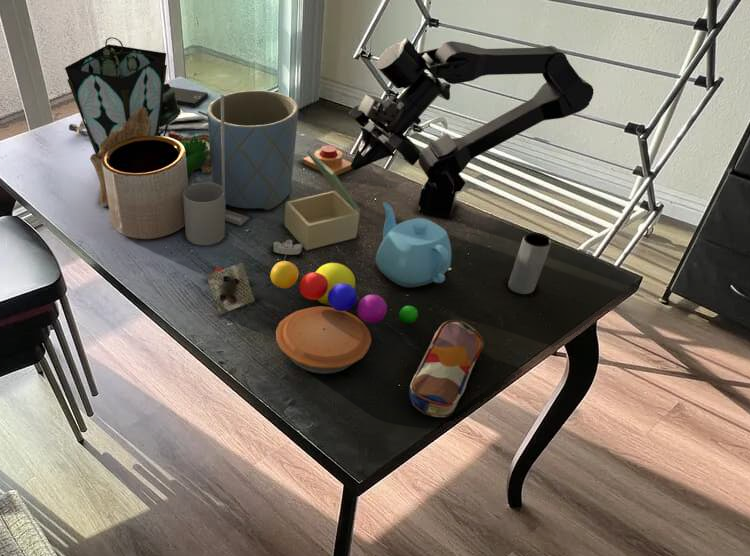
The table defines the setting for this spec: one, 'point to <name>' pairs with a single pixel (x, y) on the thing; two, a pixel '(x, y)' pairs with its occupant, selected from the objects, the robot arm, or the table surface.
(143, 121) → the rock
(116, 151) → the planter
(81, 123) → the person figure
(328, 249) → the table surface
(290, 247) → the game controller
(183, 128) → the feather
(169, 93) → the headphones
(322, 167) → the lid
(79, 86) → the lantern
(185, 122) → the cloth
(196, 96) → the cell phone
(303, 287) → the spheres
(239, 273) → the tan textured box
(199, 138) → the decorative book
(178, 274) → the table surface
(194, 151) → the toy
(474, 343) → the pencil case
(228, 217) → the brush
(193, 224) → the cup
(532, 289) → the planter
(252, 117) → the planter
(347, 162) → the button housing
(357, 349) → the pie
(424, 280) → the teapot
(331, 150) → the button
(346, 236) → the cream storage box
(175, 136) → the denture
